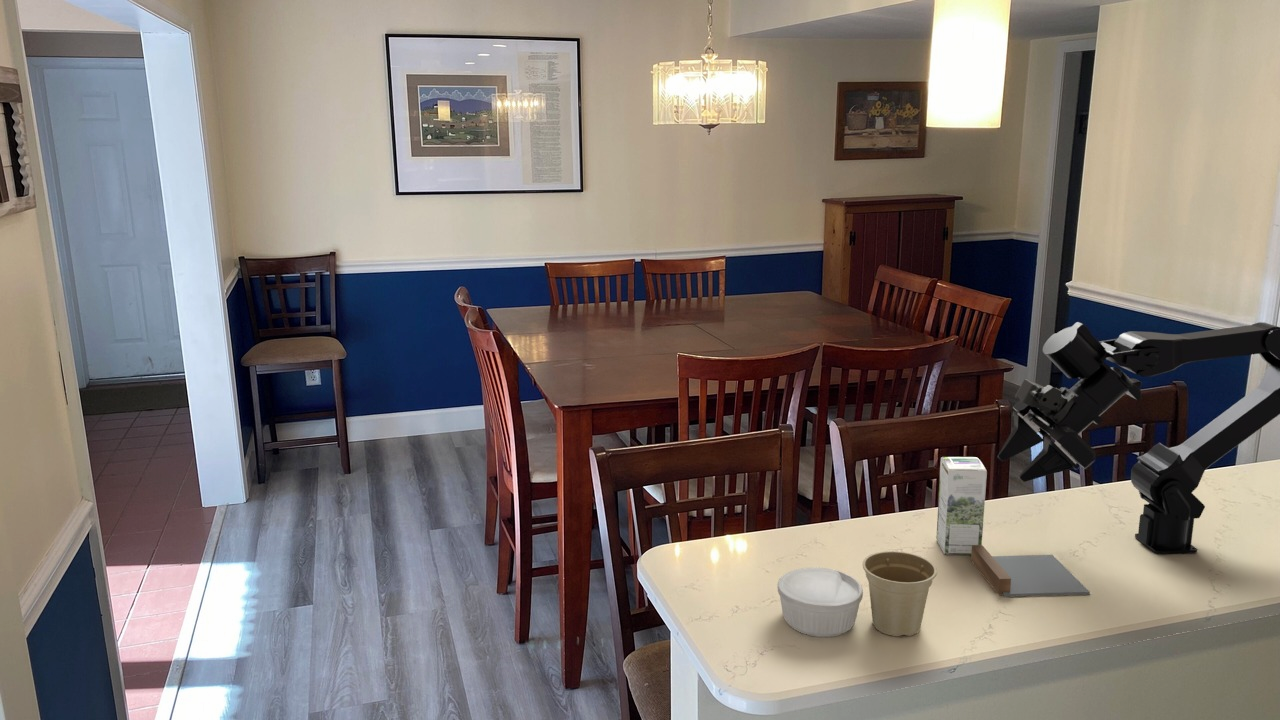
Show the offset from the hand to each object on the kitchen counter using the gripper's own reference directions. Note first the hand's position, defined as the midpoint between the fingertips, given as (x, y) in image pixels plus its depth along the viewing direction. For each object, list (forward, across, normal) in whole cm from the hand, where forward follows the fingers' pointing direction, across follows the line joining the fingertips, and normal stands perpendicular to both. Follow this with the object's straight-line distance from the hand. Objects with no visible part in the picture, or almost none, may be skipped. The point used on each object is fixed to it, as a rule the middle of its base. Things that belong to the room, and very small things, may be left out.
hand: (1010, 468), depth 141 cm
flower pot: (+25, +24, -6) cm, 35 cm away
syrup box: (+14, 0, +4) cm, 15 cm away
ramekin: (+32, +22, -13) cm, 41 cm away
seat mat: (+9, +10, +9) cm, 16 cm away
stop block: (+13, +10, +5) cm, 17 cm away
